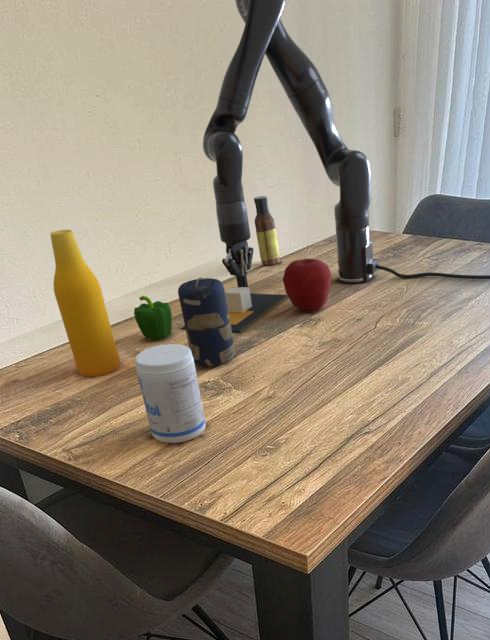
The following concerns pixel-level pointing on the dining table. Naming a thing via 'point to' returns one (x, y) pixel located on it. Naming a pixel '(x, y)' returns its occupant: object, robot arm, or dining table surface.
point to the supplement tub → (171, 393)
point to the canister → (207, 321)
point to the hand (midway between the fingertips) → (243, 289)
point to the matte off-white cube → (238, 299)
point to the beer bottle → (82, 309)
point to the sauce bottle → (266, 233)
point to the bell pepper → (154, 319)
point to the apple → (307, 284)
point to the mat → (253, 310)
